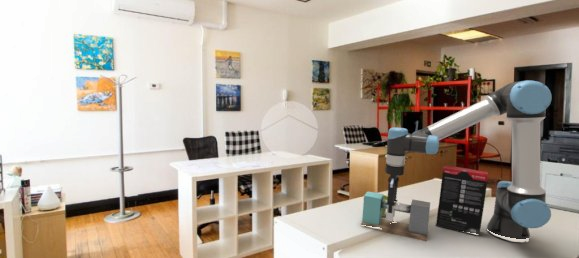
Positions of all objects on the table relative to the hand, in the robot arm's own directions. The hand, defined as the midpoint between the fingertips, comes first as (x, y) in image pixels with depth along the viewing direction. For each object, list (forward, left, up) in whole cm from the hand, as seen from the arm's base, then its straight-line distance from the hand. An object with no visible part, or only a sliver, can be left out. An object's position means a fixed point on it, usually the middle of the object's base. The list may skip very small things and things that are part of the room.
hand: (390, 217), depth 136 cm
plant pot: (+7, -13, -5) cm, 16 cm away
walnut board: (-2, 0, -5) cm, 5 cm away
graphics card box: (-27, -15, -5) cm, 31 cm away
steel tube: (-2, 0, +4) cm, 4 cm away
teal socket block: (+8, 0, -3) cm, 8 cm away
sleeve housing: (-11, 0, -3) cm, 12 cm away
